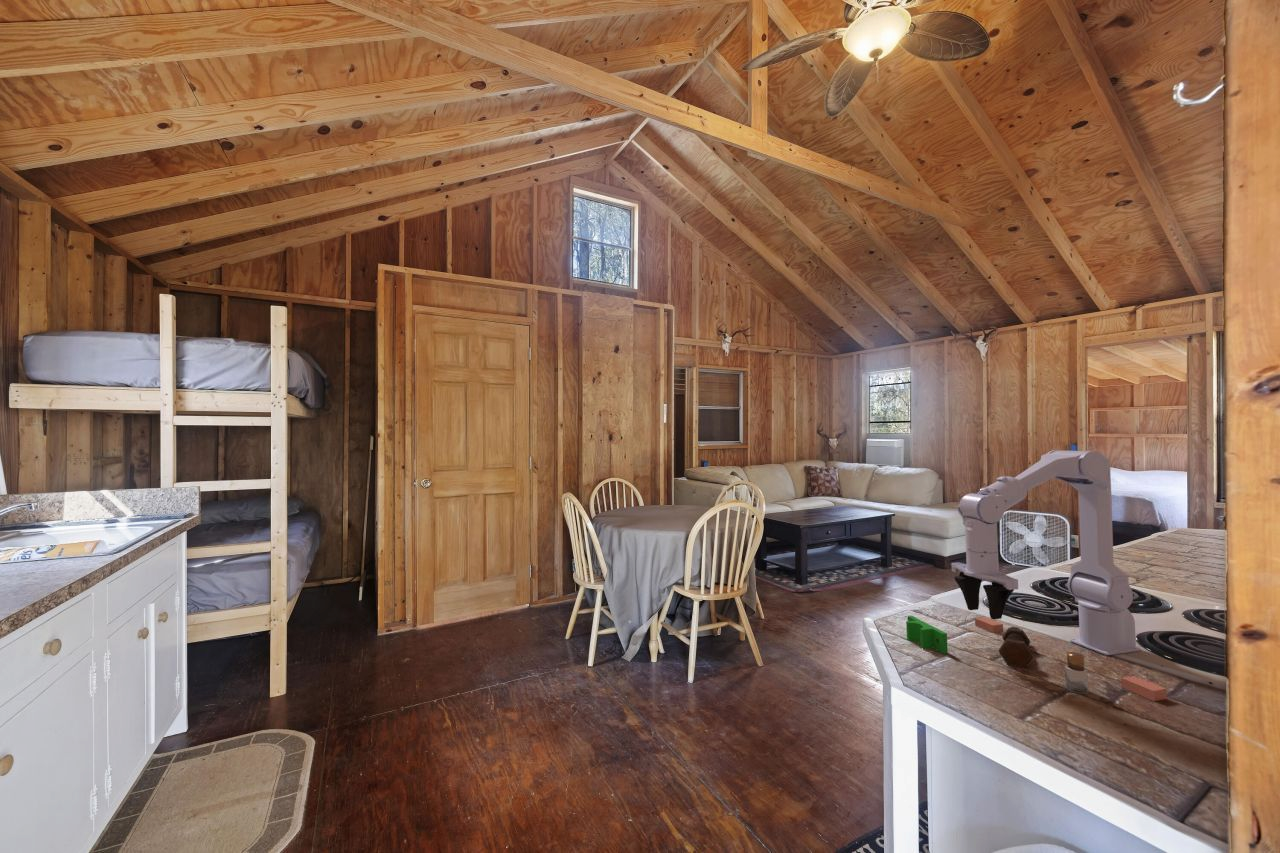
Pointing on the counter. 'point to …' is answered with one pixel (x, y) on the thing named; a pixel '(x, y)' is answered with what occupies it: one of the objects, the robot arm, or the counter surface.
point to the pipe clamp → (926, 635)
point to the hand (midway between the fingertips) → (984, 613)
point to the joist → (989, 624)
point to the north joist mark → (1144, 688)
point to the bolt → (1016, 648)
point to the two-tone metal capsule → (1076, 673)
